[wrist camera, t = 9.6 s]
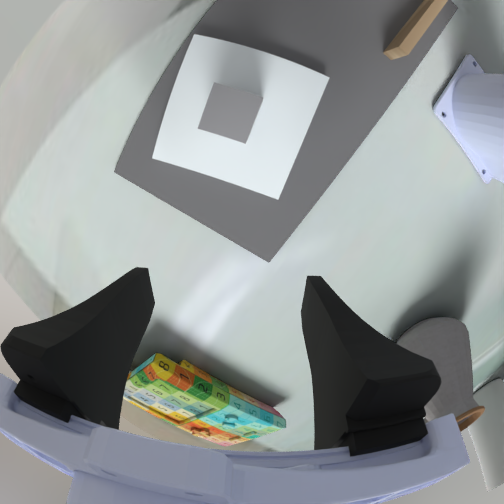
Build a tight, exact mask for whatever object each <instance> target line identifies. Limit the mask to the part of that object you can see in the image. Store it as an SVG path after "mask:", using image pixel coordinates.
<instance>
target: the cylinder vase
mask: <svg viewBox="0 0 504 504" xmlns="http://www.w3.org/2000/svg"><path fill="white" fill-rule="evenodd" d="M473 398H474V400H475V401H476V402H477V403H478V405H479V406H484V407H485V411H484V413H483V414H482V415H481V416H480V417H479V418H478V419H477V420H476V421H475V422H474V423H472V424H471V425H470V426H468V427H467V428H468V430H469V433H470V436H471V439H472V441H473V444H474V447H475V450H476V453H477V456H478V459H479V463H480V466H481V470H482V473H483V477H484V480H485V484H486V488H487V491H490V490H492V489H494V488H496V487H498V486H500V485H501V484H503V483H504V382H503V380H502V379H495V380H493V381H491V382H489V383H488V384H486V385H485V386H483V387H482V388H481V389H479V390H478V391H477V392H476V393H474V394H473Z"/></svg>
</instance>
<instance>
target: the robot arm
mask: <svg viewBox="0 0 504 504" xmlns="http://www.w3.org/2000/svg"><path fill="white" fill-rule="evenodd" d="M473 63H474V65H473ZM433 110H434V113H435V114H436V115H437V117H438V118H439V119H440V120H441V121H442V123H443V124H444V125H445V126H446V128H447V129H448V130H449V132H450V133H451V134H452V135H453V137H454V138H455V139H456V141H457V142H458V144H459V145H460V146H461V148H462V149H463V151H464V152H465V153H466V155H467V156H468V158H469V159H470V161H471V162H472V164H473V165H474V167H475V168H476V170H477V172H478V173H479V175H480V177H481V178H482V180H483V182H484V183H486V184H488V183H489V182H490V181H491V179H492V178H495V179H497V180H499V181H501V182H503V183H504V74H486V73H485V72H484V71H483V70H482V68H481V67H480V65H479V64H478V63H477V61H476V60H475V59H474V57H473V56H472V55H470V54H468V55H466V56H465V58H464V59H463V61H462V63H461V64H460V66H459V67H458V69H457V71H456V72H455V74H454V76H453V77H452V79H451V80H450V82H449V83H448V85H447V87H446V88H445V90H444V91H443V93H442V94H441V96H440V97H439V99H438V100H437V102H436V103H435V105H434V107H433ZM442 112H443V113H444V116H442ZM482 171H483V172H482ZM154 305H155V301H154V296H153V292H152V287H151V282H150V277H149V271H148V268H139V267H136V268H134V269H132V270H131V271H129V272H128V273H126V274H125V275H123V276H122V277H120V278H119V279H117V280H116V281H115V282H113V283H112V284H110V285H109V286H107V287H106V288H104V289H103V290H101V291H100V292H98V293H97V294H95V295H94V296H92V297H91V298H89V299H87V300H86V301H84V302H82V303H80V304H78V305H77V306H75V307H73V308H71V309H69V310H66V311H64V312H62V313H60V314H57V315H55V316H53V317H50V318H47V319H44V320H41V321H38V322H35V323H32V324H28V325H24V326H19V327H14V328H13V329H12V330H11V332H10V333H9V334H8V336H7V337H6V339H5V340H4V341H3V343H2V344H1V352H2V354H3V356H4V358H5V360H6V361H7V363H8V364H9V365H10V367H11V368H12V369H13V371H14V372H15V373H16V375H17V376H18V377H19V379H20V381H19V383H18V384H17V383H15V382H14V381H13V380H12V379H10V378H8V377H6V376H5V375H3V374H1V373H0V432H1V433H3V434H4V435H5V436H6V437H7V438H8V439H10V440H11V441H13V442H14V443H15V444H17V445H18V446H20V447H21V448H23V449H25V450H26V451H27V452H29V453H31V454H32V455H34V456H36V457H37V458H39V459H40V460H42V461H44V462H45V463H47V464H49V465H51V466H52V467H54V468H56V469H58V470H60V471H61V472H63V473H65V474H67V475H69V476H71V477H73V480H72V484H71V487H70V491H69V494H68V498H67V502H66V504H379V503H382V502H386V501H389V500H392V499H395V498H398V497H401V496H404V495H407V494H410V493H412V492H415V491H418V490H420V489H423V488H425V487H428V486H430V485H433V484H435V483H437V482H439V481H440V480H442V479H444V478H446V477H448V476H449V475H451V474H453V473H454V472H456V471H458V470H459V469H461V468H463V467H464V466H465V465H467V464H469V462H470V459H469V456H468V453H467V450H466V447H465V444H464V441H463V438H462V435H461V432H460V430H459V427H458V424H457V422H456V419H455V416H454V414H452V413H451V414H448V415H446V416H443V417H440V418H436V419H434V420H431V421H429V422H427V423H426V424H425V422H424V419H423V417H425V416H426V411H425V408H424V407H425V405H426V404H427V403H428V402H429V401H430V400H431V399H432V397H433V396H434V395H435V394H436V392H437V391H438V390H439V388H440V385H441V377H440V375H439V373H438V371H437V369H436V367H435V365H434V363H433V361H432V360H430V359H428V358H425V357H423V356H420V355H418V354H416V353H413V352H411V351H409V350H407V349H405V348H403V347H402V346H400V345H398V344H396V343H394V342H393V341H391V340H390V339H388V338H387V337H385V336H383V335H382V334H380V333H379V332H378V331H376V330H375V329H374V328H372V327H371V326H370V325H368V324H367V323H366V322H365V321H363V320H362V319H361V318H360V317H359V316H358V315H357V314H356V313H355V312H354V311H352V310H351V309H350V308H349V307H348V306H347V305H346V304H345V303H344V302H343V301H342V299H341V298H340V297H339V296H338V295H337V294H336V293H335V292H334V291H333V290H332V288H331V287H330V286H329V285H328V284H327V283H326V282H325V280H324V279H323V278H322V277H321V276H307V280H306V286H305V292H304V298H303V303H302V309H301V318H302V329H303V335H304V340H305V344H306V349H307V354H308V359H309V363H310V368H311V374H312V383H313V397H314V425H315V441H314V450H309V451H291V452H249V451H231V450H219V449H209V448H201V447H197V446H192V445H185V444H179V443H173V442H168V441H162V440H157V439H153V438H148V437H144V436H140V435H136V434H132V433H128V432H124V431H121V430H119V419H120V412H121V406H122V400H123V395H124V391H125V386H126V382H127V378H128V374H129V370H130V367H131V364H132V361H133V358H134V356H135V353H136V351H137V349H138V346H139V344H140V342H141V340H142V337H143V335H144V333H145V331H146V328H147V326H148V324H149V321H150V318H151V315H152V312H153V308H154Z"/></svg>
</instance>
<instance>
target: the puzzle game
mask: <svg viewBox="0 0 504 504" xmlns="http://www.w3.org/2000/svg"><path fill="white" fill-rule="evenodd" d="M123 398H124V399H125V400H127V401H129V402H130V403H132V404H134V405H136V406H137V407H139V408H141V409H143V410H145V411H146V412H148V413H150V414H152V415H154V416H156V417H158V418H160V419H162V420H164V421H166V422H168V423H170V424H172V425H174V426H176V427H179V428H181V429H183V430H185V431H187V432H190V433H192V435H195V436H197V437H198V436H199V437H201V438H204V439H206V440H209V441H211V442H214V443H217V444H219V445H222V446H230V445H233V444H237V443H240V442H244V441H247V440H251V439H254V438H257V437H260V436H263V435H266V434H269V433H272V432H275V431H278V430H280V429H283V428H286V420H285V419H284V418H283V416H282V415H281V414H280V413H279V412H278V411H276V410H275V409H274V408H273V407H271V406H269V405H267V404H265V403H263V402H261V401H258V400H256V399H254V398H252V397H250V396H248V395H246V394H244V393H242V392H241V391H239V390H237V389H235V388H233V387H231V386H229V385H227V384H225V383H224V382H222V381H220V380H218V379H216V378H215V377H213V376H211V375H209V374H208V373H206V372H204V371H202V370H201V369H199V368H197V367H196V366H194V365H192V364H191V363H189V362H188V361H186V360H183V361H180V362H179V363H175V362H174V361H172V360H171V359H169V358H167V357H166V356H164V355H163V354H159V353H155V354H154V355H153V356H151V357H150V358H149V359H148V360H146V361H145V362H144V363H142V364H141V365H140V366H139V367H137V368H136V369H135V370H133V371H132V372H131V373H129V374H128V378H127V382H126V386H125V391H124V395H123Z"/></svg>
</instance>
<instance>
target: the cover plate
mask: <svg viewBox="0 0 504 504" xmlns="http://www.w3.org/2000/svg"><path fill="white" fill-rule="evenodd" d="M329 78H330V77H327V76H325V75H323V74H321V73H318V72H316V71H314V70H312V69H309V68H307V67H304V66H302V65H299V64H297V63H294V62H292V61H289V60H286V59H284V58H281V57H278V56H275V55H272V54H269V53H266V52H263V51H260V50H257V49H254V48H250V47H247V46H243V45H240V44H236V43H232V42H228V41H224V40H220V39H216V38H211V37H206V36H201V35H196V34H194V36H193V38H192V40H191V43H190V45H189V47H188V50H187V52H186V55H185V57H184V60H183V62H182V65H181V67H180V70H179V73H178V75H177V78H176V81H175V84H174V87H173V89H172V92H171V95H170V98H169V101H168V104H167V107H166V111H165V114H164V117H163V120H162V124H161V127H160V131H159V134H158V138H157V141H156V145H155V149H154V153H153V156H152V158H153V159H156V160H160V161H163V162H166V163H170V164H173V165H176V166H180V167H183V168H186V169H189V170H193V171H196V172H199V173H202V174H205V175H208V176H211V177H214V178H217V179H220V180H223V181H226V182H229V183H232V184H235V185H238V186H241V187H244V188H247V189H250V190H252V191H255V192H258V193H261V194H264V195H266V196H269V197H272V198H275V199H277V200H278V199H279V197H280V194H281V192H282V190H283V187H284V185H285V183H286V180H287V178H288V175H289V173H290V171H291V168H292V166H293V164H294V161H295V159H296V156H297V154H298V152H299V149H300V147H301V145H302V142H303V140H304V137H305V135H306V133H307V130H308V128H309V126H310V123H311V121H312V118H313V116H314V114H315V111H316V109H317V106H318V104H319V102H320V99H321V97H322V95H323V92H324V90H325V87H326V85H327V83H328V80H329Z"/></svg>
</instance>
